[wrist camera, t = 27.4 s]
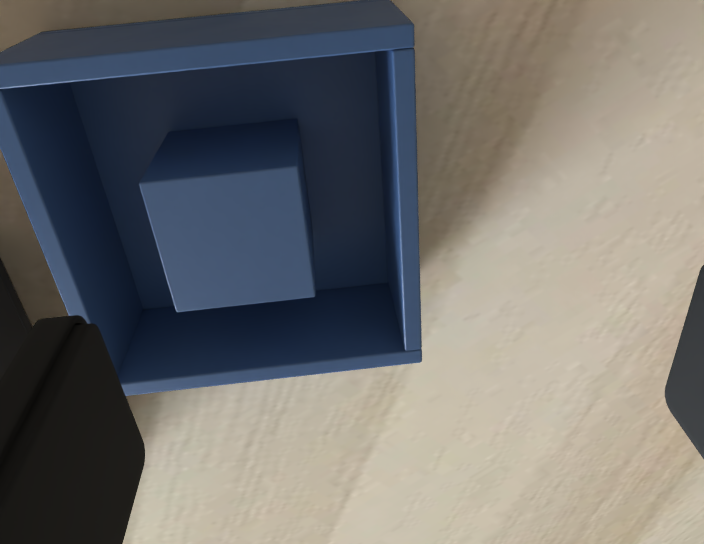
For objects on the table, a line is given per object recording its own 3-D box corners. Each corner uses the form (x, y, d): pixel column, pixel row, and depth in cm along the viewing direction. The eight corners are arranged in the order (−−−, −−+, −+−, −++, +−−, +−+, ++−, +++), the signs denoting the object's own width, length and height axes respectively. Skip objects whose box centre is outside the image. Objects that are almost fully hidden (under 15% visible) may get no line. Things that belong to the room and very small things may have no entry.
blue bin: (40, 31, 19) (-34, 67, 15) (388, -3, 19) (414, 23, 15) (135, 315, 25) (102, 399, 21) (401, 285, 25) (422, 363, 21)
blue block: (167, 131, 20) (137, 182, 17) (297, 118, 21) (297, 166, 17) (196, 245, 23) (175, 312, 19) (312, 232, 23) (315, 297, 19)
